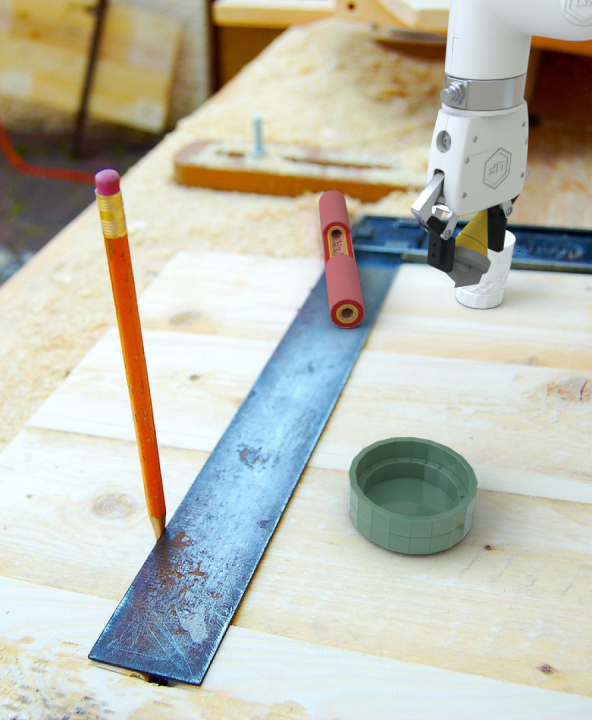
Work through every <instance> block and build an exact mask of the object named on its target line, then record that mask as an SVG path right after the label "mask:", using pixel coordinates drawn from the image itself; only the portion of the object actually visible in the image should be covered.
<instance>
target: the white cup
mask: <svg viewBox="0 0 592 720" xmlns="http://www.w3.org/2000/svg"><path fill="white" fill-rule="evenodd" d="M458 235H460V232H459V233H458ZM458 235H457V236H458ZM516 241H517V239H516V236H515V234H514V233H512V232H511V231H509V230H507V229H506V234H505V242H504V249H503V251H501V252H499V253H497V252H495V251H492V250H490V249H488V259H489V260H490V261H491V265H490V267H489V270H488V272H487V273H486V274H482V277H481V280H480V282H479V284H476V285H470V286H464V287H457V288H455V298H456V300H457V302H458V303H460V304H461V305H463V306H465V307H469V308H472V309H478V310H479V309H480V310H486V309H492V308H497V306H499V305H501V304H502V301H503V299H504V293H505V289H506V286H507V283H508V278H509V274H510V269H511V265H512V261H513V255H514V250H515V245H516Z"/></svg>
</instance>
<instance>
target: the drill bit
mask: <svg viewBox="0 0 592 720" xmlns="http://www.w3.org/2000/svg"><path fill="white" fill-rule="evenodd" d="M473 217H474V218H471V219H470V221H469V222H468V223H467V224H466V225H465V226H464V227H463V229H461V231H459V233H460V235H457V236H456V237H454V238H455V240H456V242H455V252H454V263H453V270H452V271H451V272H449V273H445V274H446V276H448V277H449V278H450V279H451V280H452V282H454V286H453V288H454V289H456V288H457V287H464V286H470V285H476V284H479V282H480V280H481V277H482V274H486V273H487V272H488V270H489V267H490V265H491V261H490V260H489V259H488V233H487V231H488V227H487V209H484V210H481V211H479V212H476V213H475V215H474V216H473Z"/></svg>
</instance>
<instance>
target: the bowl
mask: <svg viewBox="0 0 592 720" xmlns="http://www.w3.org/2000/svg"><path fill="white" fill-rule="evenodd" d="M347 479H348V480H347V481H348V482H347V507H348V515H349V518H350V520H351V522H352V523H353V525H354V526H355V528H356V530H357V531H359V532H360V534H362V535H363V536H364V537H365V538H366V539H367V540H369V542H372V543H373V544H376V545H378V546H380V547H381V548H384V549H386V550H389V551H392V552H396V553H402V554H406V555H429V554H434V553H438V552H442V551H445V550H448V549H450V548H451V547H453V546H456V544H458V543H459V542H461V541H462V540H464V538H465V537H466V535H467V534H468V532H469V531H470V530H471V528H472V523H473V516H474V509H475V503H476V497H477V496H476V494H477V491H478V478H477V476H476V472H475V470H474V468H473V467H472V465H471V464H470V463H469V462H468V460H466V458H465V457H464V456H463V455H461V453H458V452H457V451H456V450H454V449H453V448H451V447H450V446H448V445H445V444H442V443H440V442H437V441H435V440H431V439H427V438H421V437H415V436H393V437H389V438H384V439H381V440H377V441H375V442H373V443H371V444H369V445H367V446H365V447H363V448H362V449H361V450H360V451H359V452H358V453H357V454H356V455H355V456H354V457H353V459H352V460H351V464H350V466H349V469H348V476H347Z"/></svg>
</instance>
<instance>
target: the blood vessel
mask: <svg viewBox="0 0 592 720" xmlns="http://www.w3.org/2000/svg"><path fill="white" fill-rule="evenodd" d="M318 210H319V219H320V220H319V221H320V230H321V240H322V253H323V263H324V271H325V282H326V292H327V293H326V294H327V302H328V312H329V313H328V314H329V318H330V321H331V322H332V324H333V325H335V326H337V328H340V329H341V328H342V329H347V328H346V327H352V328H355V327H357V326H359V325H361V323H362V322H363V321H364V318H365V314H366V309H365V304H364V303H365V302H364V297H363V292H362V287H361V281H360V276H359V269H358V264H357V261H356V256H355V249H354V244H353V239H352V229H351V224H350V219H349V212H348V206H347V201H346V197H345V195H344V194H343V193H342V192H340V191H339V190H335V189H334V190H333V189H332V190H326V191H325V192H324V193H322V195H320V197H319V200H318ZM344 327H345V328H344Z"/></svg>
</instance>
